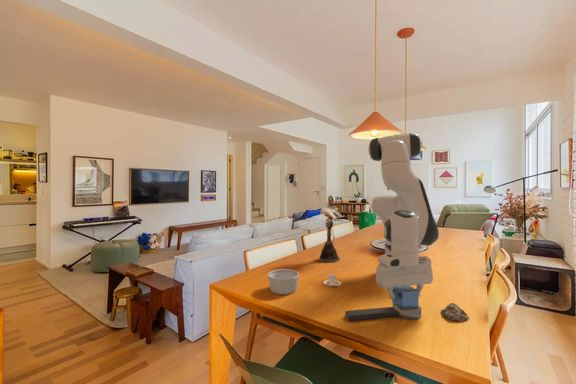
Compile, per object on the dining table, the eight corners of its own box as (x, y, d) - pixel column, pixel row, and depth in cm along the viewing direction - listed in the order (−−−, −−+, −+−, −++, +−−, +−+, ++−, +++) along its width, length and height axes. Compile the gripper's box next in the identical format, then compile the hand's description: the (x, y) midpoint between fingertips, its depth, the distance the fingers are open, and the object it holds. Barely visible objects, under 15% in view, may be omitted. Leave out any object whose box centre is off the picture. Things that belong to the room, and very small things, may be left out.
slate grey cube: (407, 301, 98) (407, 284, 98) (418, 308, 92) (418, 290, 92) (392, 302, 97) (392, 285, 97) (402, 310, 91) (402, 292, 91)
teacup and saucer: (336, 289, 118) (336, 279, 118) (319, 285, 122) (319, 276, 122) (343, 283, 125) (343, 274, 125) (327, 279, 129) (327, 271, 129)
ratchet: (352, 326, 86) (352, 305, 86) (342, 313, 95) (342, 294, 95) (427, 318, 90) (427, 299, 90) (410, 307, 99) (410, 289, 99)
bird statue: (351, 260, 162) (351, 201, 161) (340, 264, 152) (340, 202, 151) (327, 255, 173) (327, 200, 172) (315, 259, 163) (315, 201, 162)
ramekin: (275, 298, 108) (275, 281, 107) (263, 287, 119) (263, 271, 119) (304, 292, 114) (304, 275, 114) (290, 282, 125) (289, 267, 125)
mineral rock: (471, 318, 86) (442, 306, 90) (466, 330, 86) (438, 318, 90) (470, 306, 95) (444, 296, 99) (465, 318, 95) (440, 306, 100)
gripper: (424, 253, 100) (424, 291, 100) (373, 257, 95) (373, 296, 96) (437, 258, 94) (437, 298, 94) (383, 262, 89) (383, 304, 90)
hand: (404, 297), depth 95 cm, fingers open, 8 cm apart
